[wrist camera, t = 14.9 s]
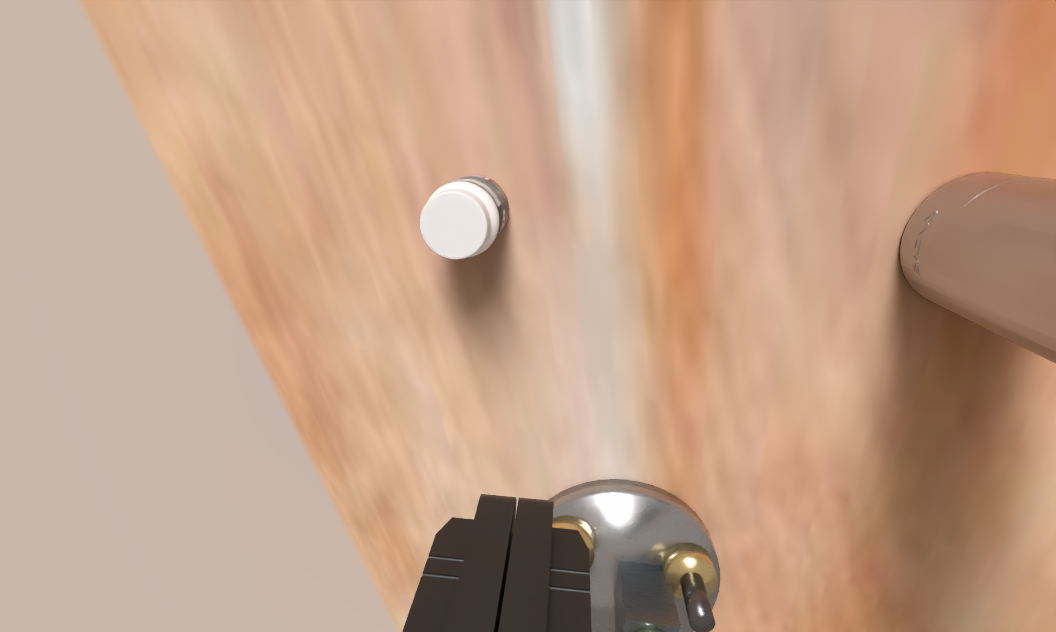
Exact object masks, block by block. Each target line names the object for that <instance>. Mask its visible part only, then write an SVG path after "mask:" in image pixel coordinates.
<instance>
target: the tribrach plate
mask: <svg viewBox="0 0 1056 632" xmlns="http://www.w3.org/2000/svg"><path fill="white" fill-rule="evenodd" d="M548 501H554V507H553V518H555V517H558V516H565V515H567V516H574V517H577V518H580V519H581V520H583V521H584V522H586V523H587V524H588V525H589V526H590V528H591V529H592V532H593V535H594V553H595V558H594V562H593V565H592V566H591V568H590V594H591V626H592V632H693V631H696V632H709V631H711V630H712V629H713V628H714V626H715V620H714V617H713V613H712V608H713V606H714V604H715V602H716V599H717V595H718V592H719V586H720V568H719V563H718V559H717V555H716V552H715V549H714V546H713V543H712V540H711V538H710V535H709V533H708V530H707V529H706V527H705V525H704V524H703V522H702V520H701V519H700V518H699V517H698V515H697V514H696V513H695V512H694V511H693V510H692V509H691V508H690V507H689V506H688V505H687V504H686V503H684V502H683V501H682V500H680V499H679V498H677V497H676V496H674V495H672V494H670V493H669V492H667V491H665V490H663V489H660V488H658V487H655V486H653V485H649V484H645V483H642V482H637V481H630V480H618V479H609V480H598V481H592V482H587V483H583V484H580V485H577V486H573V487H571V488H569V489H567V490H564V491H562V492H560V493H559V494H557V495H556V496H554V497H552V498H551V499H549V500H548Z"/></svg>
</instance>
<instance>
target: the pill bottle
mask: <svg viewBox="0 0 1056 632" xmlns="http://www.w3.org/2000/svg"><path fill="white" fill-rule="evenodd" d="M508 216H509V203H508V199H507V196H506V194H505V192H504V191H503V189H502V188H501V187H500V185H499V184H498V183H496V182H495V181H494V180H492V179H491V178H488V177H486V176H482V175H467V176H464V177H461V178H459V179H457V180H455V181H452V182H450V183H447V184H445V185H443V186H441V187H440V188H439V189H437V190H436V191H435V192H434V193H433V194H432V196H431V197H430V198H429V200H428V202H427V204H426V205H425V206H424V208H423V210H422V213H421V217H420V229H421V234H422V237H423V239H424V241H425V242H426V244H427V245H428V246H429V248H430V249H431V250H433V251H434V252H435V253H436V254H438V255H440V256H442V257H445V258H448V259H463V258H467V257H472V256H476V255H478V254H480V253H482V252H484V251H485V250H487V249H488V248H489V247H490V246H491V245H492V243H493V242H494V240H495V239H496V238H497V236H498V235H499V234H500V232H501V231H502V230H503V228H504V226H505V225H506V222H507V220H508Z"/></svg>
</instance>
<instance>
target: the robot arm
mask: <svg viewBox="0 0 1056 632" xmlns="http://www.w3.org/2000/svg"><path fill="white" fill-rule="evenodd" d="M900 260H901V267H902V270H903V273H904V276H905V278H906V279H907V281H908V282H909V284H910V285H911V287H912V288H913V289H914V290H915V291H916V292H917V293H919V294H920V295H921V296H923V297H924V298H926V299H928V300H930V301H932V302H934V303H936V304H938V305H940V306H942V307H944V308H946V309H948V310H950V311H952V312H954V313H956V314H958V315H960V316H961V317H963V318H965V319H967V320H969V321H971V322H973V323H975V324H977V325H979V326H981V327H983V328H985V329H987V330H989V331H991V332H993V333H995V334H997V335H999V336H1001V337H1003V338H1005V339H1007V340H1009V341H1011V342H1013V343H1016V344H1018V345H1020V346H1022V347H1024V348H1026V349H1028V350H1030V351H1032V352H1034V353H1036V354H1038V355H1040V356H1042V357H1044V358H1046V359H1048V360H1050V361H1052V362H1054V363H1056V180H1054V179H1047V178H1039V177H1030V176H1021V175H1012V174H1003V173H989V172H986V173H978V174H971V175H968V176H964V177H961V178H958V179H955V180H953V181H951V182H950V183H948V184H946V185H944V186H942V187H940V188H939V189H938V190H936V191H935V192H934V193H932V194H931V195H930V196H929V197H927V198H926V199H925V200H924V202H923V203H922V204H921V205H920V206H919V207H918V208H917V209H916V210H915V212H914V214H913V215H912V217H911V218H910V220H909V222H908V223H907V226H906V228H905V231H904V234H903V236H902V241H901V247H900ZM553 507H554V501H548V500H538V499H528V498H519V500H518V506H517V513H516V497H506V496H496V495H485V494H481V496H480V499H479V503H478V507H477V511H476V515H475V518H474V520H472V519H463V518H453V517H452V518H451V519H450V520H449V521H448V522H447V523H446V524H445V525H444V526H443V528H442V529H441V530H440V531H439V532H438V533H437V534H436V536H435V539H434V542H433V544H432V547H431V550H430V553H429V558H428V559H427V562H426V565H425V568H424V571H423V576H422V577H421V579H420V582H419V585H418V588H417V591H416V594H415V597H414V600H413V603H412V606H411V609H410V611H409V614H408V617H407V620H406V623H405V626H404V629H403V632H592V626H591V594H590V561H589V548H588V547H587V545H586V543H585V541H584V540H583V538H582V536H581V534H580V533H579V531H578V530H573V529H563V528H553V527H552V524H553ZM515 517H516V519H515Z"/></svg>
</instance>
